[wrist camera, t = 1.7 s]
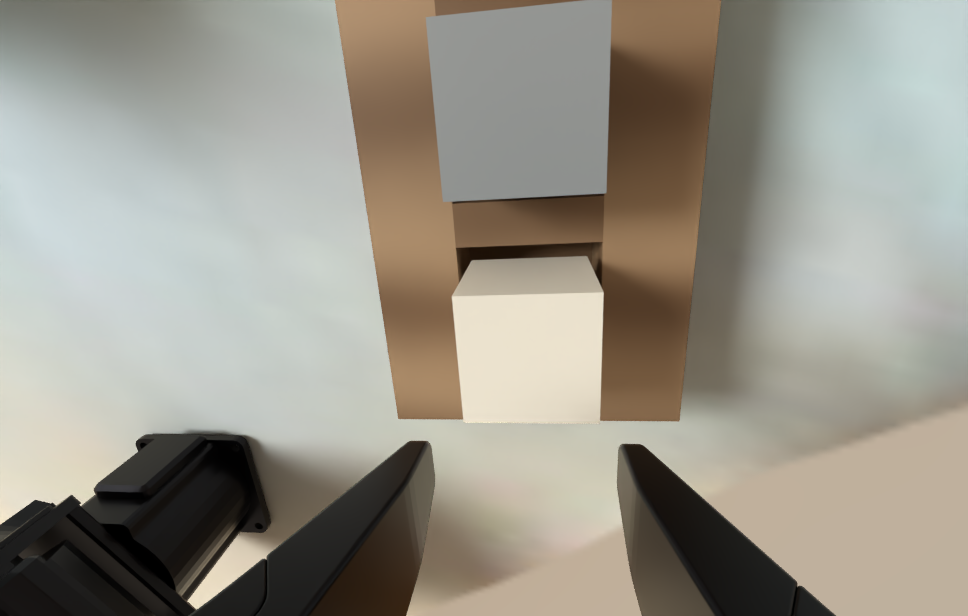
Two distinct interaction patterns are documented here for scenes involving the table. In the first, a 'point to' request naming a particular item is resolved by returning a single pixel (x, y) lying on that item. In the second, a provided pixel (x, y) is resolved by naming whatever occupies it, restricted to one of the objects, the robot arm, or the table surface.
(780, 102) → the table surface
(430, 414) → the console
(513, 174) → the grey cube
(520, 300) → the ivory key
